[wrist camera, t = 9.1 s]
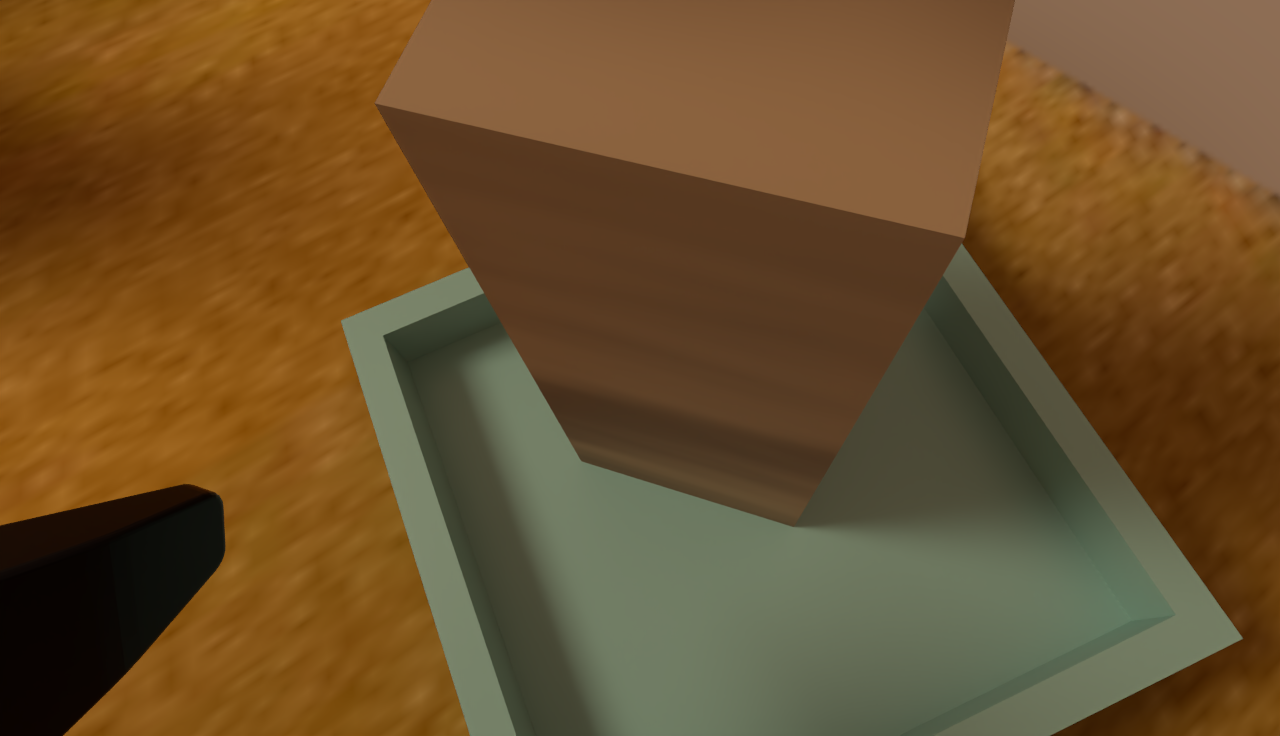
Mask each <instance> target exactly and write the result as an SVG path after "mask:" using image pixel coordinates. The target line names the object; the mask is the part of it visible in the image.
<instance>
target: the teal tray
mask: <svg viewBox="0 0 1280 736" xmlns="http://www.w3.org/2000/svg"><path fill="white" fill-rule="evenodd" d="M341 323H342V326H343V329H344V332H345V336H346V339H347V342H348V345H349V348H350V352H351V355H352V358H353V361H354V364H355V368H356V371H357V374H358V377H359V380H360V384H361V387H362V390H363V393H364V397H365V400H366V403H367V406H368V409H369V413H370V416H371V419H372V422H373V425H374V429H375V432H376V435H377V438H378V441H379V445H380V448H381V451H382V454H383V457H384V461H385V464H386V467H387V470H388V473H389V477H390V480H391V483H392V486H393V489H394V493H395V496H396V499H397V502H398V506H399V509H400V512H401V515H402V518H403V522H404V525H405V528H406V531H407V534H408V538H409V541H410V544H411V547H412V550H413V554H414V557H415V560H416V563H417V566H418V570H419V573H420V576H421V579H422V582H423V586H424V589H425V592H426V595H427V598H428V602H429V605H430V608H431V611H432V615H433V618H434V621H435V624H436V627H437V631H438V634H439V637H440V640H441V643H442V647H443V650H444V653H445V656H446V659H447V663H448V666H449V669H450V672H451V675H452V679H453V682H454V685H455V688H456V691H457V695H458V698H459V701H460V704H461V707H462V711H463V714H464V717H465V720H466V724H467V727H468V730H469V733H470V736H1050V735H1052V734H1054V733H1056V732H1058V731H1060V730H1062V729H1064V728H1066V727H1068V726H1070V725H1072V724H1074V723H1076V722H1078V721H1080V720H1082V719H1084V718H1086V717H1088V716H1090V715H1092V714H1094V713H1096V712H1098V711H1100V710H1102V709H1104V708H1106V707H1108V706H1110V705H1112V704H1114V703H1116V702H1118V701H1120V700H1122V699H1124V698H1126V697H1128V696H1130V695H1132V694H1134V693H1136V692H1138V691H1140V690H1142V689H1144V688H1146V687H1148V686H1150V685H1152V684H1154V683H1156V682H1158V681H1160V680H1162V679H1164V678H1166V677H1168V676H1170V675H1172V674H1174V673H1176V672H1178V671H1180V670H1182V669H1184V668H1186V667H1188V666H1190V665H1192V664H1194V663H1196V662H1197V661H1199V660H1201V659H1203V658H1205V657H1207V656H1209V655H1211V654H1213V653H1215V652H1217V651H1219V650H1221V649H1223V648H1225V647H1227V646H1229V645H1231V644H1233V643H1235V642H1237V641H1239V640H1241V639H1243V638H1242V636H1241V635H1240V634H1239V632H1238V631H1237V629H1236V628H1235V627H1234V625H1233V624H1232V622H1231V621H1230V620H1229V618H1228V617H1227V615H1226V614H1225V612H1224V611H1223V610H1222V608H1221V607H1220V605H1219V604H1218V603H1217V601H1216V600H1215V598H1214V597H1213V596H1212V594H1211V593H1210V591H1209V590H1208V589H1207V587H1206V586H1205V584H1204V583H1203V582H1202V580H1201V579H1200V577H1199V576H1198V575H1197V573H1196V572H1195V570H1194V569H1193V568H1192V566H1191V565H1190V563H1189V562H1188V561H1187V559H1186V558H1185V556H1184V555H1183V553H1182V552H1181V551H1180V549H1179V548H1178V546H1177V545H1176V544H1175V542H1174V541H1173V539H1172V538H1171V537H1170V535H1169V534H1168V532H1167V531H1166V530H1165V528H1164V527H1163V525H1162V524H1161V523H1160V521H1159V520H1158V518H1157V517H1156V516H1155V514H1154V513H1153V511H1152V510H1151V509H1150V507H1149V506H1148V504H1147V503H1146V501H1145V500H1144V499H1143V497H1142V496H1141V494H1140V493H1139V492H1138V490H1137V489H1136V487H1135V486H1134V485H1133V483H1132V482H1131V480H1130V479H1129V478H1128V476H1127V475H1126V473H1125V472H1124V471H1123V469H1122V468H1121V466H1120V465H1119V464H1118V462H1117V461H1116V459H1115V458H1114V457H1113V455H1112V454H1111V452H1110V451H1109V449H1108V448H1107V447H1106V445H1105V444H1104V442H1103V441H1102V440H1101V438H1100V437H1099V435H1098V434H1097V433H1096V431H1095V430H1094V428H1093V427H1092V426H1091V424H1090V423H1089V421H1088V420H1087V419H1086V417H1085V416H1084V414H1083V413H1082V412H1081V410H1080V409H1079V407H1078V406H1077V405H1076V403H1075V402H1074V400H1073V399H1072V398H1071V396H1070V395H1069V393H1068V392H1067V390H1066V389H1065V388H1064V386H1063V385H1062V383H1061V382H1060V381H1059V379H1058V378H1057V376H1056V375H1055V374H1054V372H1053V371H1052V369H1051V368H1050V367H1049V365H1048V364H1047V362H1046V361H1045V360H1044V358H1043V357H1042V355H1041V354H1040V353H1039V351H1038V350H1037V348H1036V347H1035V346H1034V344H1033V343H1032V341H1031V340H1030V338H1029V337H1028V336H1027V334H1026V333H1025V331H1024V330H1023V329H1022V327H1021V326H1020V324H1019V323H1018V322H1017V320H1016V319H1015V317H1014V316H1013V315H1012V313H1011V312H1010V310H1009V309H1008V308H1007V306H1006V305H1005V303H1004V302H1003V301H1002V299H1001V298H1000V296H999V295H998V294H997V292H996V291H995V289H994V288H993V287H992V285H991V284H990V282H989V281H988V279H987V278H986V277H985V275H984V274H983V272H982V271H981V270H980V268H979V267H978V265H977V264H976V263H975V261H974V260H973V258H972V257H971V256H970V254H969V253H968V251H967V250H966V249H965V247H964V246H963V244H961V245H960V247H959V249H958V250H957V252H956V254H955V255H954V257H953V259H952V261H951V262H950V264H949V266H948V267H947V269H946V271H945V272H944V274H943V276H942V277H941V279H940V281H939V282H938V284H937V286H936V288H935V289H934V291H933V293H932V294H931V296H930V298H929V299H928V301H927V303H926V304H925V306H924V308H923V310H922V311H921V313H920V315H919V316H918V318H917V320H916V321H915V323H914V325H913V326H912V328H911V330H910V332H909V333H908V335H907V337H906V338H905V340H904V342H903V343H902V345H901V347H900V348H899V350H898V352H897V354H896V355H895V357H894V359H893V360H892V362H891V364H890V365H889V367H888V369H887V370H886V372H885V374H884V375H883V377H882V379H881V381H880V382H879V384H878V386H877V387H876V389H875V391H874V392H873V394H872V396H871V397H870V399H869V401H868V403H867V404H866V406H865V408H864V409H863V411H862V413H861V414H860V416H859V418H858V419H857V421H856V423H855V425H854V426H853V428H852V430H851V431H850V433H849V435H848V436H847V438H846V440H845V441H844V443H843V445H842V446H841V448H840V450H839V452H838V453H837V455H836V457H835V458H834V460H833V462H832V463H831V465H830V467H829V468H828V470H827V472H826V474H825V475H824V477H823V479H822V480H821V482H820V484H819V485H818V487H817V489H816V490H815V492H814V494H813V496H812V497H811V499H810V501H809V502H808V504H807V506H806V507H805V509H804V511H803V512H802V514H801V516H800V517H799V519H798V521H797V523H796V524H795V526H794V527H792V526H788V525H785V524H782V523H779V522H775V521H772V520H769V519H766V518H763V517H759V516H756V515H753V514H750V513H746V512H743V511H740V510H737V509H734V508H730V507H727V506H724V505H721V504H717V503H714V502H711V501H708V500H704V499H701V498H698V497H695V496H692V495H688V494H685V493H682V492H679V491H675V490H672V489H669V488H666V487H663V486H659V485H656V484H653V483H650V482H646V481H643V480H640V479H637V478H633V477H630V476H627V475H624V474H621V473H617V472H614V471H611V470H608V469H604V468H601V467H598V466H595V465H591V464H588V463H585V462H582V461H581V460H580V458H579V457H578V455H577V453H576V451H575V450H574V448H573V446H572V444H571V443H570V441H569V439H568V437H567V436H566V434H565V432H564V431H563V429H562V427H561V425H560V424H559V422H558V420H557V418H556V417H555V415H554V413H553V412H552V410H551V408H550V406H549V405H548V403H547V401H546V399H545V398H544V396H543V394H542V392H541V391H540V389H539V387H538V386H537V384H536V382H535V380H534V379H533V377H532V375H531V373H530V372H529V370H528V368H527V366H526V365H525V363H524V361H523V360H522V358H521V356H520V354H519V353H518V351H517V349H516V347H515V346H514V344H513V342H512V340H511V339H510V337H509V335H508V334H507V332H506V330H505V328H504V327H503V325H502V323H501V321H500V320H499V318H498V316H497V315H496V313H495V311H494V309H493V308H492V306H491V304H490V302H489V301H488V299H487V297H486V295H485V294H484V292H483V290H482V289H481V287H480V285H479V283H478V282H477V280H476V278H475V276H474V275H473V273H472V271H471V269H470V268H467V269H464V270H462V271H459V272H457V273H454V274H452V275H450V276H447V277H445V278H442V279H440V280H438V281H435V282H433V283H430V284H428V285H426V286H423V287H421V288H418V289H416V290H414V291H411V292H409V293H406V294H404V295H402V296H399V297H397V298H394V299H392V300H390V301H387V302H385V303H382V304H380V305H378V306H375V307H373V308H370V309H368V310H365V311H363V312H361V313H358V314H356V315H353V316H351V317H349V318H346V319H344V320H341Z"/></svg>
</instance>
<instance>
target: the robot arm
mask: <svg viewBox="0 0 1280 736" xmlns="http://www.w3.org/2000/svg"><path fill="white" fill-rule="evenodd" d="M224 553H225V529H224V510H223V502H222V500H221V498H220V496H219V495H217V494H216V493H215V492H212V491H209V490H206V489H203V488H201V487H198V486H195V485H190V484H183V485H178V486H174V487H169V488H165V489H160V490H156V491H151V492H147V493H143V494H138V495H134V496H129V497H125V498H120V499H116V500H111V501H107V502H103V503H98V504H94V505H89V506H85V507H80V508H76V509H72V510H67V511H63V512H58V513H54V514H49V515H45V516H41V517H36V518H32V519H27V520H23V521H18V522H14V523H9V524H5V525H1V526H0V736H63V735H64V734H65V733H66V732H67V731H68V730H69V729H70V728H71V727H72V726H73V725H74V724H75V723H76V722H78V721H79V720H80V719H81V718H82V717H83V716H84V715H85V714H86V713H87V712H88V711H89V710H90V709H91V708H92V707H93V706H94V705H95V704H96V703H97V702H98V701H99V700H100V699H101V698H102V697H103V696H104V695H105V694H106V693H107V692H108V691H109V690H110V689H111V688H112V687H113V686H114V685H115V684H116V683H117V682H118V681H119V680H120V679H121V678H122V677H123V676H124V675H125V674H126V673H127V672H128V671H129V670H130V669H131V668H132V666H133V665H134V664H135V663H136V662H137V661H138V660H139V659H140V658H141V657H142V655H143V654H144V653H145V652H146V651H147V650H148V649H149V647H150V646H151V645H152V644H153V643H154V642H155V640H156V639H157V638H158V637H159V636H160V635H161V633H162V632H163V631H164V630H165V629H166V628H167V626H168V625H169V624H170V623H171V622H172V621H173V620H174V618H175V617H176V616H177V615H178V614H179V613H180V611H181V610H182V609H183V608H184V607H185V606H186V604H187V603H188V602H189V601H190V600H191V599H192V598H193V596H194V595H195V594H196V593H197V592H198V591H199V589H200V588H201V587H202V586H203V585H204V584H205V582H206V581H207V580H208V579H209V578H210V577H211V576H212V574H213V573H214V572H215V571H216V570H217V568H218V567H219V565H220V563H221V562H222V559H223V557H224Z"/></svg>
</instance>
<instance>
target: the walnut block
mask: <svg viewBox="0 0 1280 736" xmlns="http://www.w3.org/2000/svg"><path fill="white" fill-rule="evenodd" d="M1014 2H1015V0H431V2H430V4H429V6H428V8H427V10H426V11H425V13H424V15H423V17H422V19H421V20H420V22H419V24H418V26H417V28H416V29H415V31H414V33H413V35H412V37H411V38H410V40H409V42H408V44H407V46H406V47H405V49H404V51H403V53H402V55H401V56H400V58H399V60H398V62H397V64H396V65H395V67H394V69H393V71H392V73H391V75H390V76H389V78H388V80H387V82H386V84H385V85H384V87H383V89H382V91H381V93H380V94H379V96H378V98H377V100H376V102H375V105H376V107H377V108H378V110H379V112H380V114H381V115H382V117H383V119H384V121H385V122H386V124H387V126H388V127H389V129H390V131H391V133H392V134H393V136H394V138H395V140H396V141H397V143H398V145H399V146H400V148H401V150H402V152H403V153H404V155H405V157H406V159H407V160H408V162H409V164H410V166H411V167H412V169H413V171H414V172H415V174H416V176H417V178H418V179H419V181H420V183H421V185H422V186H423V188H424V190H425V192H426V193H427V195H428V197H429V198H430V200H431V202H432V204H433V205H434V207H435V209H436V211H437V212H438V214H439V216H440V218H441V219H442V221H443V223H444V224H445V226H446V228H447V230H448V231H449V233H450V235H451V237H452V238H453V240H454V242H455V243H456V245H457V247H458V249H459V250H460V252H461V254H462V256H463V257H464V259H465V261H466V263H467V264H468V266H469V268H470V269H471V271H472V273H473V275H474V276H475V278H476V280H477V282H478V283H479V285H480V287H481V289H482V290H483V292H484V294H485V295H486V297H487V299H488V301H489V302H490V304H491V306H492V308H493V309H494V311H495V313H496V315H497V316H498V318H499V320H500V321H501V323H502V325H503V327H504V328H505V330H506V332H507V334H508V335H509V337H510V339H511V340H512V342H513V344H514V346H515V347H516V349H517V351H518V353H519V354H520V356H521V358H522V360H523V361H524V363H525V365H526V366H527V368H528V370H529V372H530V373H531V375H532V377H533V379H534V380H535V382H536V384H537V386H538V387H539V389H540V391H541V392H542V394H543V396H544V398H545V399H546V401H547V403H548V405H549V406H550V408H551V410H552V412H553V413H554V415H555V417H556V418H557V420H558V422H559V424H560V425H561V427H562V429H563V431H564V432H565V434H566V436H567V437H568V439H569V441H570V443H571V444H572V446H573V448H574V450H575V451H576V453H577V455H578V457H579V458H580V460H581V461H582V462H585V463H588V464H591V465H595V466H598V467H601V468H604V469H608V470H611V471H614V472H617V473H621V474H624V475H627V476H630V477H633V478H637V479H640V480H643V481H646V482H650V483H653V484H656V485H659V486H663V487H666V488H669V489H672V490H675V491H679V492H682V493H685V494H688V495H692V496H695V497H698V498H701V499H704V500H708V501H711V502H714V503H717V504H721V505H724V506H727V507H730V508H734V509H737V510H740V511H743V512H746V513H750V514H753V515H756V516H759V517H763V518H766V519H769V520H772V521H775V522H779V523H782V524H785V525H788V526H792V527H794V526H795V524H796V523H797V521H798V519H799V517H800V516H801V514H802V512H803V511H804V509H805V507H806V506H807V504H808V502H809V501H810V499H811V497H812V496H813V494H814V492H815V490H816V489H817V487H818V485H819V484H820V482H821V480H822V479H823V477H824V475H825V474H826V472H827V470H828V468H829V467H830V465H831V463H832V462H833V460H834V458H835V457H836V455H837V453H838V452H839V450H840V448H841V446H842V445H843V443H844V441H845V440H846V438H847V436H848V435H849V433H850V431H851V430H852V428H853V426H854V425H855V423H856V421H857V419H858V418H859V416H860V414H861V413H862V411H863V409H864V408H865V406H866V404H867V403H868V401H869V399H870V397H871V396H872V394H873V392H874V391H875V389H876V387H877V386H878V384H879V382H880V381H881V379H882V377H883V375H884V374H885V372H886V370H887V369H888V367H889V365H890V364H891V362H892V360H893V359H894V357H895V355H896V354H897V352H898V350H899V348H900V347H901V345H902V343H903V342H904V340H905V338H906V337H907V335H908V333H909V332H910V330H911V328H912V326H913V325H914V323H915V321H916V320H917V318H918V316H919V315H920V313H921V311H922V310H923V308H924V306H925V304H926V303H927V301H928V299H929V298H930V296H931V294H932V293H933V291H934V289H935V288H936V286H937V284H938V282H939V281H940V279H941V277H942V276H943V274H944V272H945V271H946V269H947V267H948V266H949V264H950V262H951V261H952V259H953V257H954V255H955V254H956V252H957V250H958V249H959V247H960V245H961V244H962V242H963V240H964V239H965V235H966V230H967V225H968V220H969V216H970V211H971V206H972V201H973V197H974V192H975V187H976V182H977V178H978V173H979V168H980V163H981V159H982V154H983V149H984V144H985V140H986V135H987V130H988V125H989V121H990V116H991V111H992V107H993V102H994V97H995V92H996V88H997V83H998V78H999V73H1000V69H1001V64H1002V59H1003V54H1004V50H1005V45H1006V40H1007V35H1008V31H1009V26H1010V21H1011V16H1012V12H1013V7H1014Z"/></svg>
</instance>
